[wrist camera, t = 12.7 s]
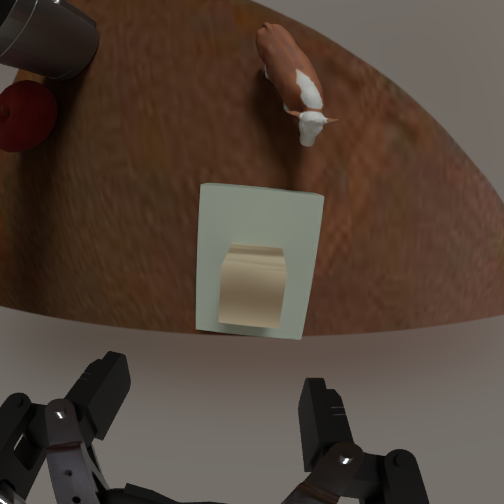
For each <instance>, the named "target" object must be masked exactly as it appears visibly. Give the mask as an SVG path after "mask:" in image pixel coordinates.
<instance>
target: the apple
mask: <svg viewBox="0 0 504 504" xmlns="http://www.w3.org/2000/svg"><path fill="white" fill-rule="evenodd" d="M57 113H58V106H57V102H56V99H55V97H54V95H53V94H52V92H50V91H49V90H48V89H47V88H46V87H45V86H43V85H42V84H39V83H37V82H35V81H30V80H24V81H18V82H16V83H14V84H12V85H10V86H8V87H7V88H6V89H5V90H4V91H3V92H2V93H1V94H0V149H2V150H4V151H7V152H21V151H25V150H28V149H30V148H33V147H35V146H37V145H39V144H40V143H41V142H43V141H44V140H45V139H46V138H47V137H48V136H49V135H50V133H51V132H52V130H53V128H54V125H55V122H56V119H57Z"/></svg>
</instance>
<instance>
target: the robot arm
mask: <svg viewBox="0 0 504 504" xmlns="http://www.w3.org/2000/svg"><path fill="white" fill-rule="evenodd" d="M95 25H96V21H94V20H93V19H92V18H90V17H89V16H87V15H86V14H85V13H83V12H82V11H80V10H79V9H77V8H76V7H75V6H73V5H72V4H70V3H69V2H67V1H66V0H0V64H3V65H7V66H11V67H14V68H18V69H22V70H25V71H29V72H32V73H36V74H39V75H42V76H45V77H48V78H51V79H55V80H59V81H65V80H69V79H71V78H73V77H75V76H76V75H78V74H79V73H80V72H81V71H82V70H83V69H84V68H85V67H86V66H87V65H88V64H89V62H90V61H91V59H92V58H93V56H94V54H95V52H96V49H97V47H98V42H99V35H98V32H97V30H96V28H95ZM130 384H131V379H130V374H129V370H128V364H127V359H126V356H125V355H124V354H121V353H116V352H112V351H109V352H108V353H107V354H106V355H105V356H104V358H103V359H102V360H101V359H97V360H96V361H94V362H92V363H91V364H89V366H88V367H87V368H86V370H85V371H84V373H83V374H82V375H81V376H80V378H79V379H78V380H77V382H76V383H75V384H74V386H73V387H72V388H71V390H70V391H69V392H68V394H67V395H66V396H65V398H64V399H55V400H52V401H51V402H49V403H48V405H42V404H35V403H32V402H31V401H30V399H29V397H28V396H27V395H26V394H24V393H14V394H12V395H10V396H9V397H8V398H7V399H6V401H5V402H4V403H3V404H2V406H1V407H0V504H26V502H25V500H26V498H27V496H28V494H29V491H30V489H31V487H32V485H33V483H34V481H35V479H36V476H37V474H38V472H39V470H40V468H41V466H42V464H43V462H44V460H45V458H47V463H48V468H49V473H50V478H51V482H52V486H53V490H54V494H55V498H56V501H57V504H225V503H216V502H190V503H181V502H176V501H174V500H172V499H170V498H168V497H165V496H163V495H161V494H159V493H157V492H155V491H153V490H149V489H146V488H142V487H138V486H135V485H132V484H129V483H127V484H126V486H125V489H124V488H114V489H110V488H109V486H108V484H107V483H106V481H105V479H104V476H103V474H102V471H101V468H100V465H99V463H98V460H97V457H96V454H95V450H94V447H93V444H92V441H93V439H94V438H97V439H100V440H103V439H104V437H105V436H106V434H107V431H108V430H109V428H110V426H111V424H112V422H113V420H114V418H115V416H116V414H117V412H118V410H119V408H120V407H121V405H122V403H123V401H124V399H125V397H126V395H127V393H128V392H129V389H130ZM298 415H299V424H300V432H301V442H302V451H303V460H304V471H305V472H311V473H310V474H309V476H308V477H307V478H306V479H305V480H304V481H303V482H302V483H300V484H299V485H298V486H297V487H296V488H295V489H294V490H293V491H292V492H291V493H290V494H289V496H288V497H287V498H286V499H285V500H284V501H283V502H282V503H281V504H337V502H338V500H339V498H340V497H341V496H343V497H351V498H358V499H359V503H360V504H429V500H428V497H427V494H426V490H425V486H424V483H423V480H422V477H421V473H420V470H419V467H418V464H417V461H416V458H415V457H414V455H413V454H412V453H410V452H409V451H407V450H403V449H396V450H393V451H391V452H389V453H388V454H387V455H386V456H381V455H374V454H368V453H365V452H363V450H362V449H361V448H360V447H359V446H358V445H356V444H355V443H354V441H353V438H352V434H351V431H350V427H349V424H348V420H347V416H346V413H345V409H344V405H343V402H342V399H341V396H340V395H339V394H338V393H337V392H336V391H335V390H334V389H326V385H325V381H324V379H323V378H306V379H305V382H304V386H303V390H302V394H301V397H300V401H299V406H298ZM22 434H23V437H22V438H21V440H20V442H19V443H18V445H17V447H16V449H15V450H14V447H15V445H16V443H17V441H18V440H19V438H20V436H21V435H22Z"/></svg>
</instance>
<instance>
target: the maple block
mask: <svg viewBox="0 0 504 504" xmlns="http://www.w3.org/2000/svg"><path fill="white" fill-rule="evenodd" d="M286 277H287V269H286V264H285V259H284V254H283V250H282V248H276V247H267V246H257V245H247V244H238V243H232V244H231V246H230V248H229V250H228V253H227V255H226V257H225V259H224V261H223V264H222V268H221V284H220V301H219V320H218V322H220V323H228V324H237V325H246V326H255V327H266V328H277V329H279V323H280V317H281V311H282V304H283V298H284V291H285V284H286Z"/></svg>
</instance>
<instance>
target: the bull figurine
mask: <svg viewBox="0 0 504 504" xmlns="http://www.w3.org/2000/svg"><path fill="white" fill-rule="evenodd" d="M256 46H257V50H258V53H259V56H260V58H261V59H262V60H263V62H264V64H265V68H264V70H265V77H266V78H267V79H269V80H270V81H271V82H272V83H273V85H274V86H275V87H276V88H277V90H278V92H279V94H280V95H281V97H282V99H283V101H284V102H283V103H284V110H285V111H286V113H288V114H289V115H291V116H294V117H296V118H297V119H299V120H300V121H299V130H300V133H301V136H300V143H301V144H302V145H303V146H307V147H311V146H312V145H313V144H314V141H315V137H316V136H317V135H318V134H319V133H320V132H321V131H322V129H323V124H331V123H333V122H336V121H338V119H331V118H325V117H324V116H323V112H324V101H323V89H322V87H321V84H320V82H319V80H318V78H317V74H316V72H315V70H314V68H313V66H312V64H311V62H310V61H309V59H308V58H307V56H306V55H305V54H304V53H303V52H302V51H301V50H300V49H299V47H298V46H297V45H296V42H295V40H294V39H293V37H292V36H291V35H290V34H289V33H288V31H287V30H285V29H284V28H283V27H282V26H280V25H277V24H272V25H271V24H270V23H268V22H265V23H264V24H263V25H262V28H261V29H259V30H258V31H257V34H256Z"/></svg>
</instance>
